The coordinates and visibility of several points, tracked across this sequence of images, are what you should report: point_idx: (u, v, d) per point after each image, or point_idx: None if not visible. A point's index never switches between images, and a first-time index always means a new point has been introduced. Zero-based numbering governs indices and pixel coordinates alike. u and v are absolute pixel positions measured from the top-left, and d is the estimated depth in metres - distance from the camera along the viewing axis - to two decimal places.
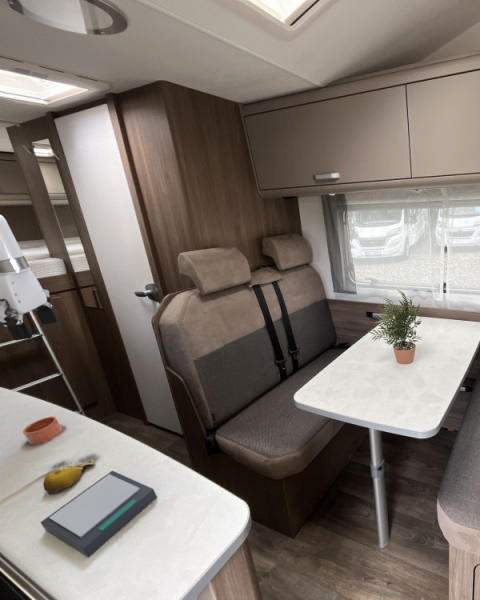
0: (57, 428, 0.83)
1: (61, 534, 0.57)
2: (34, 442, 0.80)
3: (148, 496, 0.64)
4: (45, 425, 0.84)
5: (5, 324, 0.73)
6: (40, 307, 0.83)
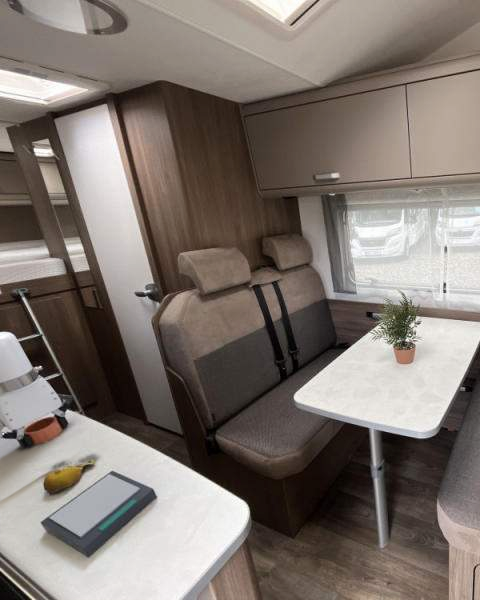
0: (57, 428, 0.83)
1: (61, 534, 0.57)
2: (34, 442, 0.80)
3: (148, 496, 0.64)
4: (45, 425, 0.84)
5: None
6: None
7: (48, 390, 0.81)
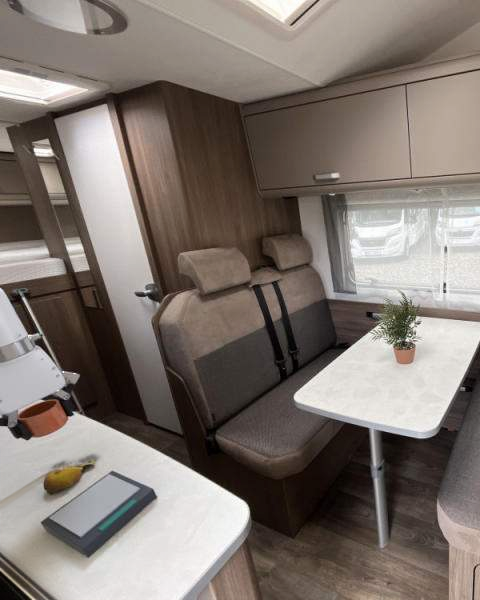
0: (60, 413, 0.65)
1: (61, 534, 0.57)
2: (31, 431, 0.62)
3: (148, 496, 0.64)
4: (45, 410, 0.66)
5: None
6: (57, 395, 0.67)
7: (48, 364, 0.63)
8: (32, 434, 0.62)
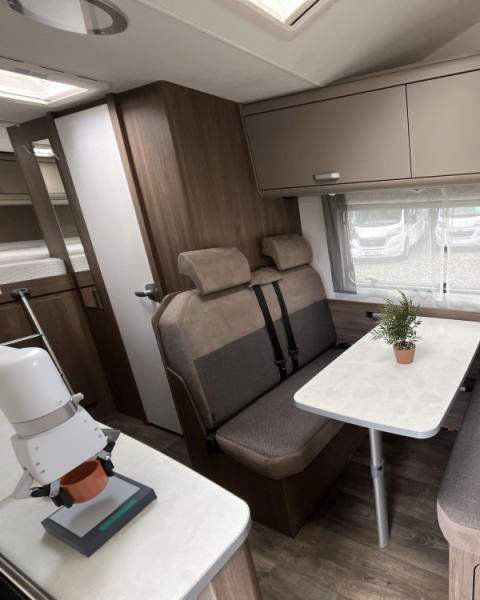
0: (102, 476, 0.61)
1: (61, 534, 0.57)
2: (72, 498, 0.58)
3: (148, 496, 0.64)
4: (85, 471, 0.62)
5: None
6: None
7: (91, 426, 0.59)
8: (73, 501, 0.58)
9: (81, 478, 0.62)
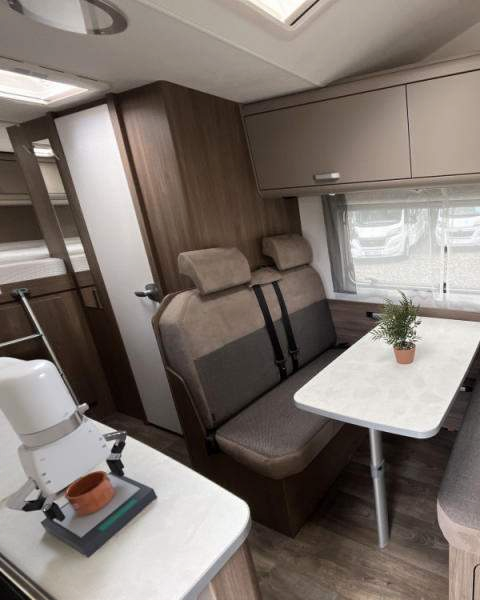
0: (108, 487, 0.62)
1: (61, 534, 0.57)
2: (79, 509, 0.59)
3: (148, 496, 0.64)
4: (91, 482, 0.63)
5: None
6: None
7: (95, 436, 0.60)
8: (80, 512, 0.59)
9: (87, 489, 0.63)
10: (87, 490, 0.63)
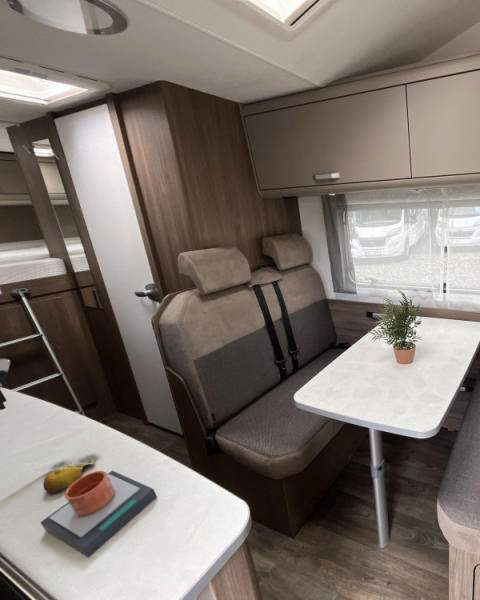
0: (108, 487, 0.62)
1: (61, 534, 0.57)
2: (79, 509, 0.59)
3: (148, 496, 0.64)
4: (91, 482, 0.63)
5: None
6: None
7: None
8: (80, 512, 0.59)
9: (87, 489, 0.63)
10: (87, 490, 0.63)
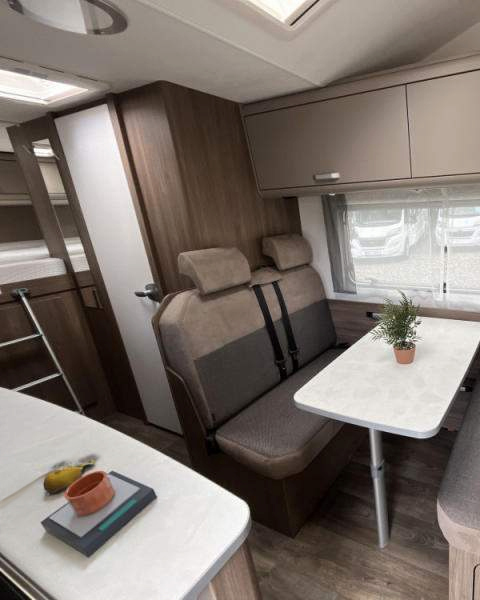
0: (108, 487, 0.62)
1: (61, 534, 0.57)
2: (79, 509, 0.59)
3: (148, 496, 0.64)
4: (91, 482, 0.63)
5: None
6: None
7: None
8: (80, 512, 0.59)
9: (87, 489, 0.63)
10: (87, 490, 0.63)
